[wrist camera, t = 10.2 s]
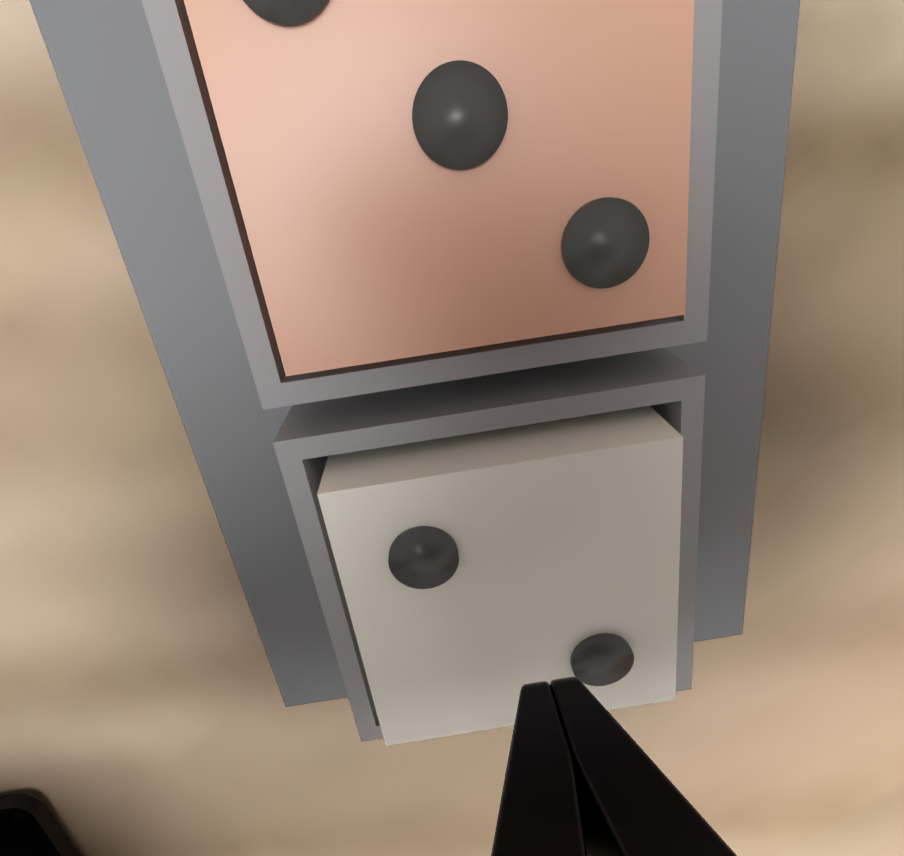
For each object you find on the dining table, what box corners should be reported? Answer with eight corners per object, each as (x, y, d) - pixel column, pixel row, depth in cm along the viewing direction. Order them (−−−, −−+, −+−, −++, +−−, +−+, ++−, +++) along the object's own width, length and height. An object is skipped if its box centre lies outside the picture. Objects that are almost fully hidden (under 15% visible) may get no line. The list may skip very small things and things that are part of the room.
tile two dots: (631, 614, 14) (678, 706, 11) (389, 652, 14) (385, 752, 11) (628, 386, 11) (687, 441, 9) (335, 431, 11) (315, 499, 9)
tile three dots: (626, 286, 11) (689, 317, 8) (312, 334, 11) (283, 379, 8) (620, -126, 8) (707, -253, 6) (214, -66, 8) (133, -168, 6)
